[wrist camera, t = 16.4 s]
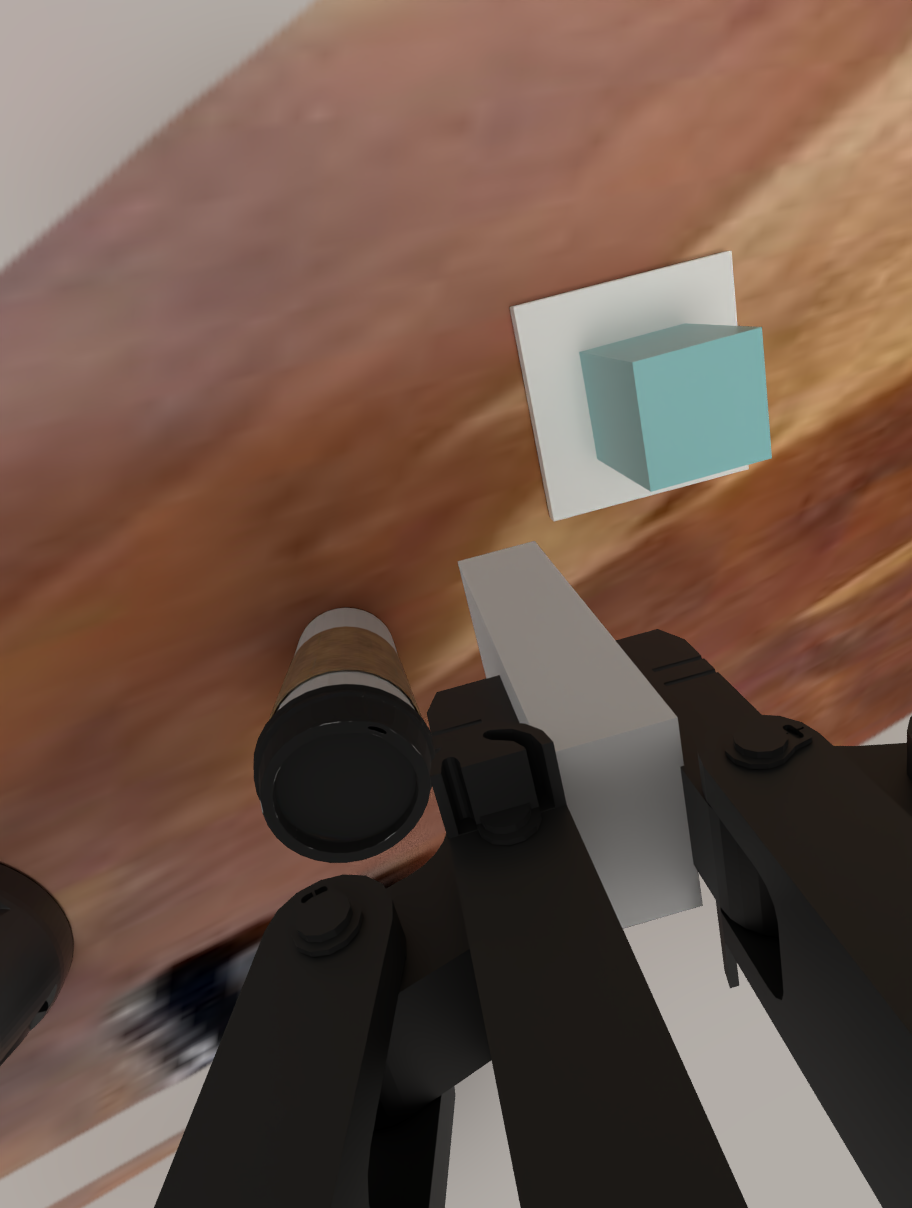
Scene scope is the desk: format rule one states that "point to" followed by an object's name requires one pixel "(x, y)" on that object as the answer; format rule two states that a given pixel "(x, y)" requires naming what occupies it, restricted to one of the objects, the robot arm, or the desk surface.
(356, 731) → the coffee cup
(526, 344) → the post stand
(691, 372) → the teal rectangular block
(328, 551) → the desk surface
